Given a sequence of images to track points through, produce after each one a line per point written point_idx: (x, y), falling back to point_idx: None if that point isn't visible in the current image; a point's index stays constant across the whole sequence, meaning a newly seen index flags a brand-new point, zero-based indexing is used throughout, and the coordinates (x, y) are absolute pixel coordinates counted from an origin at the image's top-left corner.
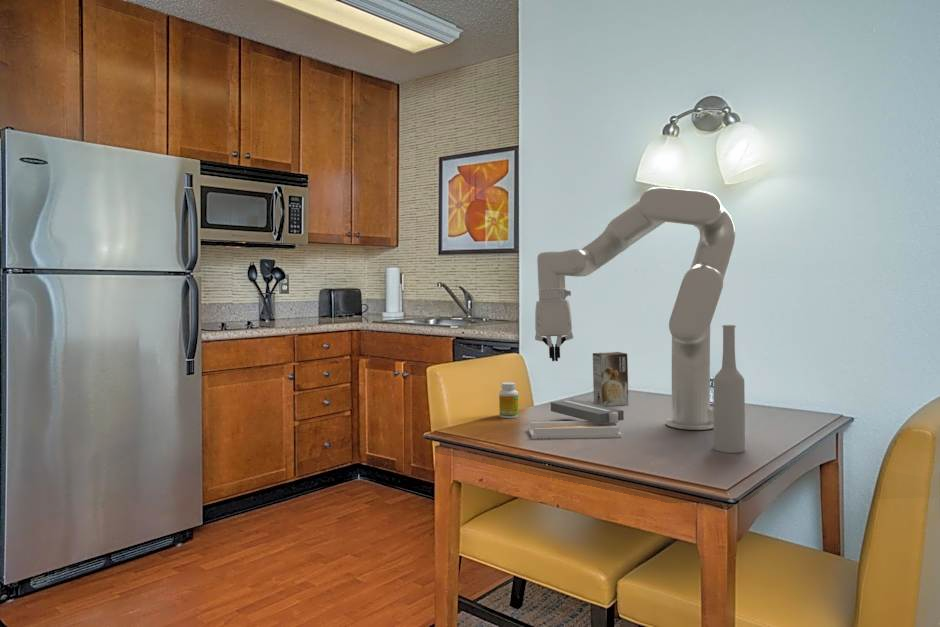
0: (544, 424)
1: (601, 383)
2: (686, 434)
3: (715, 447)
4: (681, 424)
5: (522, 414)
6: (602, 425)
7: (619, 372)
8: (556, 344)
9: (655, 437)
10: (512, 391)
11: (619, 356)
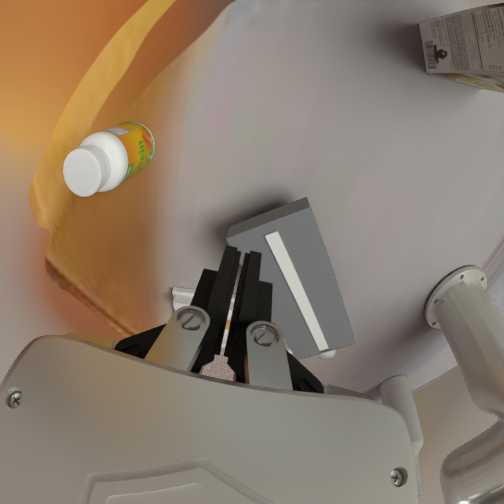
0: None
1: (466, 73)
2: (410, 338)
3: (380, 387)
4: (431, 320)
5: (169, 117)
6: None
7: None
8: (233, 376)
9: (364, 348)
10: (105, 185)
11: None
